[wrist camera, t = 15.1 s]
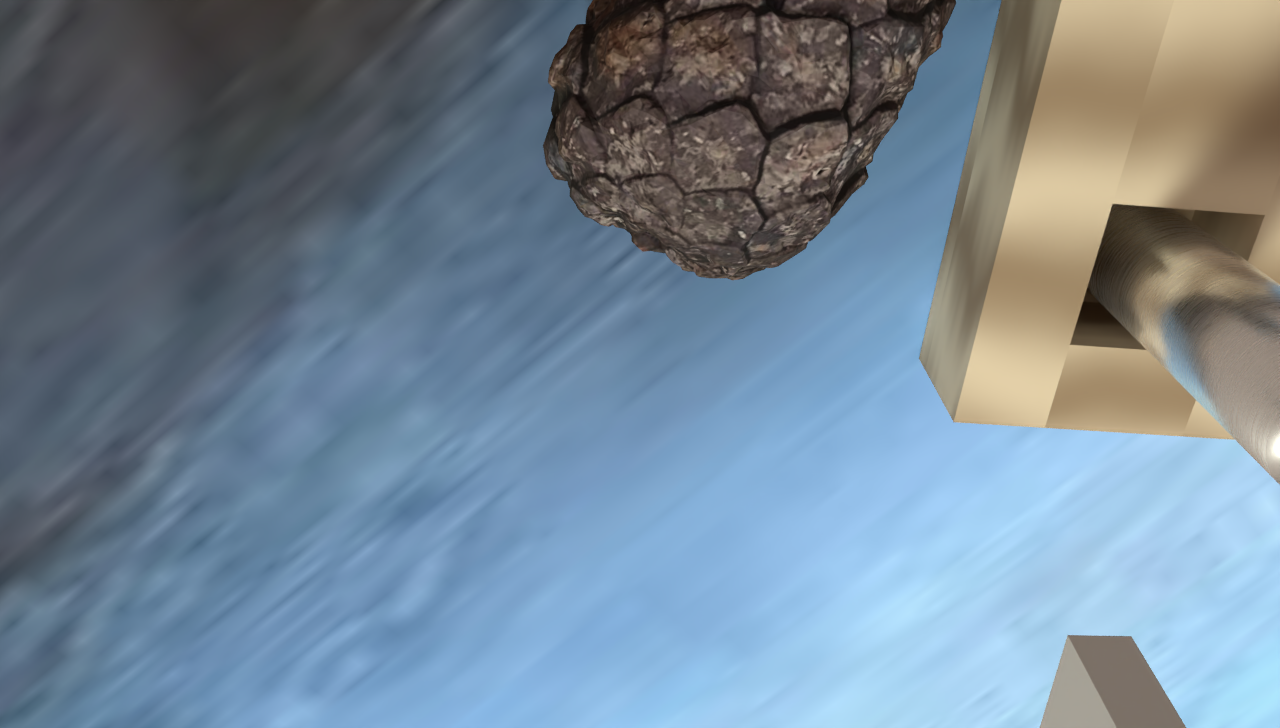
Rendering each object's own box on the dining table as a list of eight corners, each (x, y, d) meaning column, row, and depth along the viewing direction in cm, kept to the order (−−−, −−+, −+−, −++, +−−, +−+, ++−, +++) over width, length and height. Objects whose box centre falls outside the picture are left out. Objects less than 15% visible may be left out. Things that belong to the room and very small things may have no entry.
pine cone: (1040, -201, 34) (1190, -201, 25) (752, 259, 41) (790, 384, 33) (762, -390, 32) (819, -461, 23) (507, 134, 39) (475, 233, 30)
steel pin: (1079, 181, 39) (1300, 359, 27) (1184, 191, 39) (1452, 371, 27) (1049, 282, 41) (1242, 493, 29) (1149, 290, 41) (1385, 502, 29)
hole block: (1082, -347, 32) (1156, -370, 28) (1460, -307, 33) (1592, -323, 29) (919, 358, 43) (953, 422, 39) (1205, 377, 44) (1271, 441, 40)
